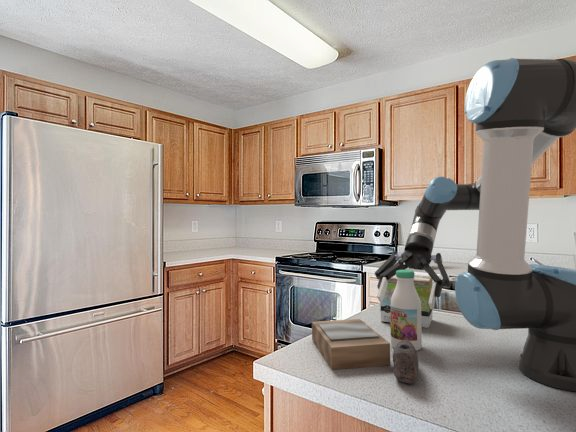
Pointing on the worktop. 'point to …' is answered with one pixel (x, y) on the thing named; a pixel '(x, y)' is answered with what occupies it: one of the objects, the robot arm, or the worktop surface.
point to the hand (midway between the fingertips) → (404, 302)
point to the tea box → (423, 289)
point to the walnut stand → (350, 344)
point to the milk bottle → (406, 311)
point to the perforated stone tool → (405, 362)
